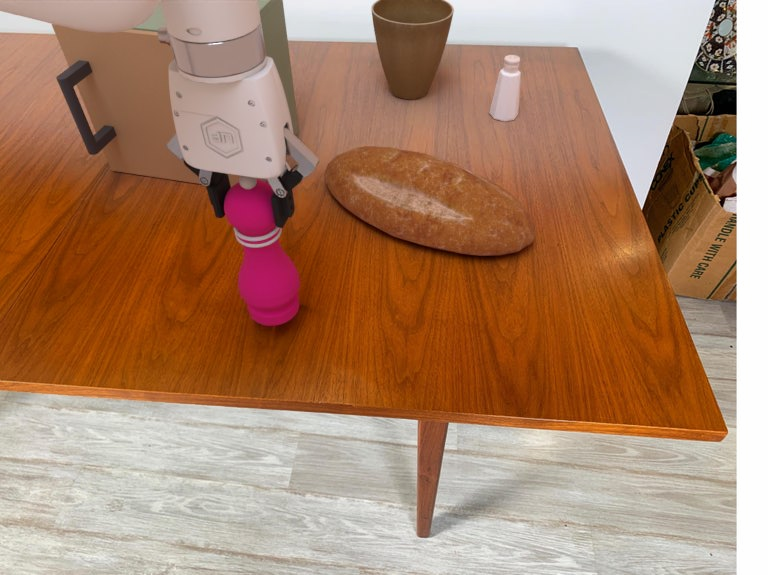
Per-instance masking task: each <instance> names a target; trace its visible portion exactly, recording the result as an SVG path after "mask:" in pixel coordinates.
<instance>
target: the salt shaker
mask: <svg viewBox="0 0 768 575" xmlns="http://www.w3.org/2000/svg"><path fill="white" fill-rule="evenodd" d="M520 62H521V58H520V56H518V55H516V54H508V55H505V56H504V58H503V67H502V68H501V69H500V71H499V73H498V77H497V81H496V84H495V88H494V92H493V96H492V99H491V100H492V101H491V104H490V108H489V112H488V114H489V115H490V116H491V118H492V119H493V120H495V121H500V122H511V121H512V122H513V121H515V119H516V118H517V117H518V116H519V110H520V109H519V107H520V91H521V78H522V77H521V76H522V74H521V73H522V71H520V70H519V68H520Z"/></svg>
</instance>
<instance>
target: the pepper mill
mask: <svg viewBox="0 0 768 575" xmlns="http://www.w3.org/2000/svg"><path fill="white" fill-rule="evenodd" d="M273 193H274V191H273V189H272V187H271V186H270V184H269V182H268V181H266V182H265V181H262V180H257V179H256V178H253V177H246V176H240V177H239V182H238V183H237V184H235V185H234V186H232V187H231V188H230V190H229V191H228V192H227V194H226V197H225V200H224V212H225V218H226V220H227V222H228V223H229V224H230V225H231V226H232V227H233V232H234V236H235V239H236V241H237V242H238V243H239V244H240V245H242V249H243V260H242V264H241V266H240V269H239V272H238V279H237V286H238V292H239V295H240V298H242V300H243V301H244V302H245V303H246V307H247V309H248V310H247V311H248V313H249V315H250V318H251V319H252V320H253V321H255V323H258V324H259V325H262V326H268V327H272V326H273V327H274V326H279V325H282V324H286V323H287V322H289V321H291V320H292V319H293V318H294V317H295V316H296V315H297V313H298V312H299V309H300V299H299V293H298V292H299V290H300V286H301V279H300V274H299V272H298V269H297V267H296V266H295V264H294V262H293V261H292V259H291V258H290V257H289V256H288V255H287V253H286V252H285V251H284V249H283V248H282V245H281V242H280V240H279V238H280V237H281V235H282V232H283V230H282V229H283V228H279V227H277V226H276V225H275V220H274V215H273V209H272V204H271V196H272V194H273Z"/></svg>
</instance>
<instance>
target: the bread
mask: <svg viewBox="0 0 768 575" xmlns="http://www.w3.org/2000/svg"><path fill="white" fill-rule="evenodd" d="M323 178H324V182H325V185H326V186H327V188H328V189H329V192H330V194H331V196H333V197H334V198H335V199H336V201H337V202H339V204H340V205H341V206H342V207H344V208H345V209H346V210H348V212H350V213H352V215H354V216H356V217H357V218H359V219H360V220H362V221H364V222H365V223H367V224H369V225H371V226H372V227H375V228H377V229H378V230H380V231H382V232H384V233H386V234H388V235H390V236H391V237H394V238H396V239H397V238H398V239H401V240H404V241H407V242H411V243H414V244H418V245H420V246H424V247H427V248H431V249H434V250H440V251H445V252H452V253H457V254H462V255H470V256H478V257H482V256H483V257H486V256H503V255H508V254H513V253H518V252H520V251H521V250H523V249H525V248H526V247H528V246H530V245H531V244H532V243H533V241H534V239H535V237H536V235H535V231H534V227H533V224H532V220H531V216H530V214H529V212H528V211H527V210H526V208H525V207H524V205H523V204H522V203H521V201H520V200H519V199H518V198H517V197H516V196H515V195H513V194H512V193H511V192H509V191H508V190H507V189H505V188H503V187H502V186H500V185H499V184H497V183H496V182H493V181H491V180H489V179H487V178H485V177H483V176H482V175H479V174H477V173H475V172H473V171H471V170H469V169H467V168H465V167H464V166H461V165H460V164H457V163H454V162H451V161H448V160H445V159H443V158H439V157H436V156H433V155H430V154H427V153H423V152H418V151H413V150H408V149H401V148H394V147H392V146H391V147H389V146H374V145H373V146H372V145H369V146H367V145H364V146H359V147H356V148H353V149H349V150H347V151H345V152H343V153H340V154H337V155H336V156H335V157H334V158H333V159H332V160H330V161H329V163H327V165H326V168H325V170H324V173H323Z"/></svg>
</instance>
